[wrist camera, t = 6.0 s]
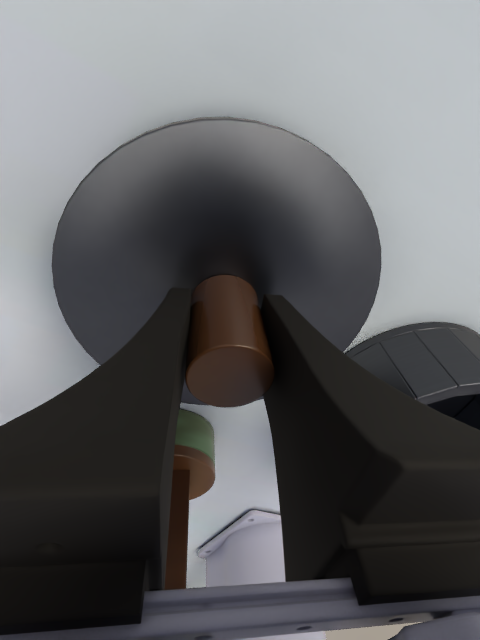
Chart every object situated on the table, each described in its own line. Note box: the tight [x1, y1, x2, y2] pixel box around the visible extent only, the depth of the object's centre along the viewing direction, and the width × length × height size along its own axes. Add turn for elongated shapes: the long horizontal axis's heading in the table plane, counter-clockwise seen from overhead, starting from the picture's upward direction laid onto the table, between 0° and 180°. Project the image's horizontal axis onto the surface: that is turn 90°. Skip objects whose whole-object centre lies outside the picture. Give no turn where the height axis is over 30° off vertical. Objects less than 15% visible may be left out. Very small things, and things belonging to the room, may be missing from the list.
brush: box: [164, 409, 215, 590], centre depth 16 cm, size 5×5×8 cm
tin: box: [345, 322, 480, 430], centre depth 17 cm, size 10×10×4 cm
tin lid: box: [52, 117, 381, 407], centre depth 10 cm, size 11×11×5 cm
